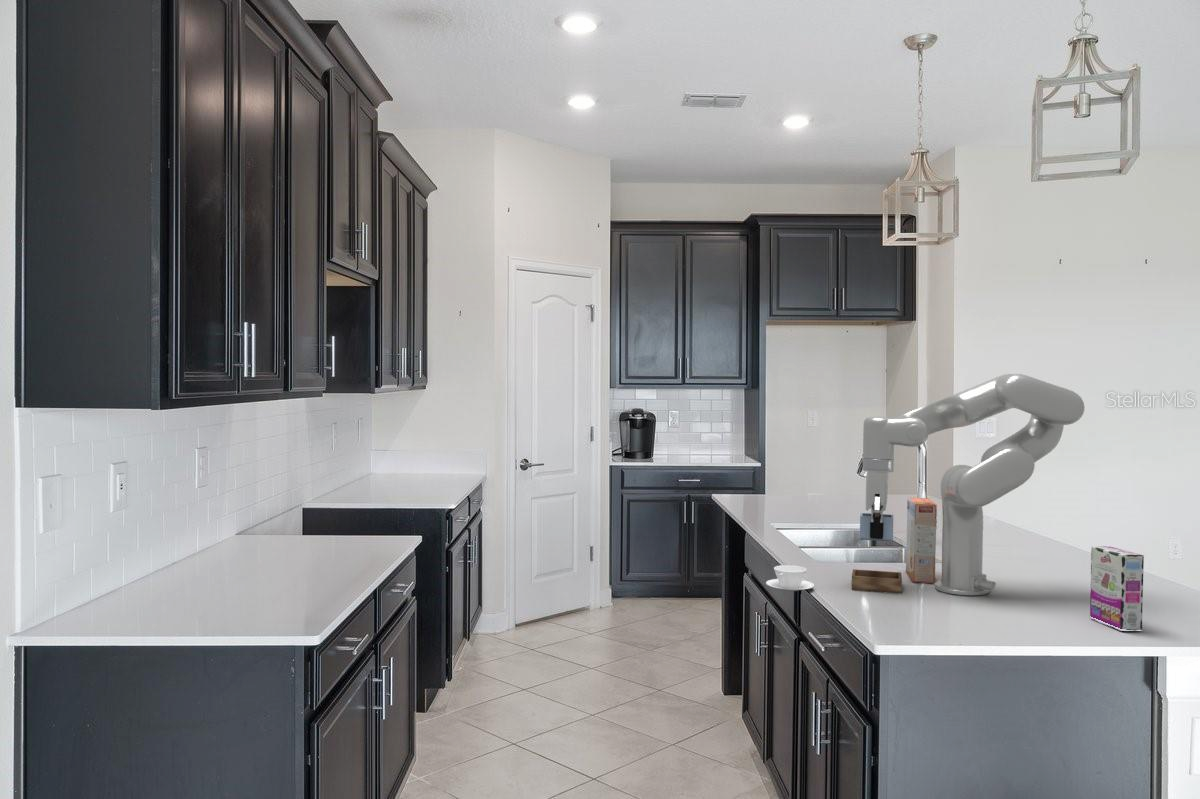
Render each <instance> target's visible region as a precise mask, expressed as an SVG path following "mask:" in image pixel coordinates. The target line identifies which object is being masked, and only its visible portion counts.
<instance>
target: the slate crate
mask: <svg viewBox="0 0 1200 799" xmlns="http://www.w3.org/2000/svg"><path fill="white" fill-rule="evenodd" d="M873 519H874V517H873ZM870 522H871V512H870V513H866V512H860V516H859V540H861V541H875V542H877V541H878V542H892V543H893V542H894V514H885V513H883V521H882V523H883V539H873V538H870Z"/></svg>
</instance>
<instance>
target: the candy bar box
mask: <svg viewBox="0 0 1200 799" xmlns="http://www.w3.org/2000/svg"><path fill="white" fill-rule="evenodd" d="M1144 558H1145V555H1143V554H1141V553H1136V552H1132V551H1129V550H1125V549H1121V548H1117V547H1113V546H1106V545H1105V546H1101V545H1099V546H1091V558H1090V598H1089V599H1090V604H1089V605H1090V606H1089V607H1090V608H1089V617H1090V616H1091V617H1093V618H1096V619H1098V620H1101V621H1103V622H1105V623H1108V624H1110V625H1113V626H1115V627H1118V628H1120V629H1126V630H1142V631H1143V604H1144V602H1143V601H1144V598H1143V596H1144V595H1143V593H1144V567H1145V565H1144V562H1145V560H1144Z"/></svg>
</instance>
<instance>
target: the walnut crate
mask: <svg viewBox="0 0 1200 799" xmlns="http://www.w3.org/2000/svg"><path fill="white" fill-rule="evenodd" d="M851 572H852V573H851V591H857V590H861V591H860V592H871V591H873V593H885V592H886V593H885V594H898V593H902V592H903V584H902V583H903V577H902V572H900V571H888V570H887V571H884V570H869V569H858V568H857V569H856V568H853V569H852V571H851Z"/></svg>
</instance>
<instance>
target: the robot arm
mask: <svg viewBox="0 0 1200 799" xmlns="http://www.w3.org/2000/svg"><path fill="white" fill-rule="evenodd" d="M1010 409H1016V410H1019V411H1023V412H1025V413H1027V414H1030V419H1029V420H1028V422H1027V424H1026V425H1025V426H1023V427H1022V428H1021V429H1020V430H1018V431H1017V432H1015V433H1013V434H1012V435H1010V436H1008V437H1006V438H1005V439H1003V440H1002V441H999V442H997V443H996V444H994V445H992V446H990V447H989V448H987V449H986V450H985V451H983V453H982V456H981V458H980V463H977V464H976V465H974V466H970V465H966V464H957V465H953V466H951V467H949V468H947V470H945V472H944V473H943V475H942V477H941V481H940V497H941V505H942V530H941V533H942V534H941V535H942V536H941V537H942V538H941V543H942V544H941V546H942V547H941V580H940V581H936V582H935V583H934V588H935V590H937V591H940V592H942V593H947V594H951V595H957V596H984V595H987V594H988V593H989V592H990V591H994V590H995V588H996V585H997V584H996V581H992V580H988V579H987V574H986V573H983V553H984V552H983V550H984V549H983V547H984V545H983V542H984V535H983V533H984V511H983V507H985V506H988V504H991V503H993V502H995V501H997V500H998V499H1000V498H1002V497H1004V496H1005V495H1007V494H1008V493H1010V492H1012V491H1014V490H1015V489H1018V488H1019V487H1021V486H1022V485H1024V484H1025V483H1026V482H1028V480H1029V479H1030V478H1031V477H1032V475H1033V473H1034V471H1035V466H1036V465H1035V463H1037V462H1038V461H1039V460H1041V459H1043V458H1044V457H1045V456H1047V455H1048V454H1050V453H1051V452H1053V450H1055V448H1056V447H1057V446H1058V444H1059V442H1060V441H1061V438H1062V435H1063V431H1064V426H1066V425H1067V426H1068V425H1072V424H1075V423H1077V422H1078V421H1079V420H1080V419H1081V418H1082V416H1084V414H1085V403H1084V400H1083V399H1082V397H1081V395H1079V394H1078V392H1077V393H1076V392H1075V391H1073V390H1072V389H1071V390H1070V389H1068V388H1065V387H1061V386H1058V385H1056V384H1053V383H1050V382H1047V381H1044V380H1041V379H1037V378H1035V377H1032V376H1029V375H1026V374H1023V373H1008V374H1007V373H1005V374H1003V375H999V376H996V377H994V378H990V379H989V380H986V381H984V382H981V383H980V384H979V383H978V385H977V384H976V385H975V386H974V385H973V386H972V387H970V388H967V389H965V390H963V391H959V392H958V393H955V394H952V395H949V396H946V397H944V398H942V399H940V400H937V401H934V402H931V403H929V404H926V405H923V406H920V407H918V408H916V409H913V410H911V411H909V412H908V411H907V413H903V414H901V415H899V416H897V417H896V418H891V417H886V416H868V417H866V418H865V419H864V420H863V434H862V435H863V439H862V440H863V441H862V471H863V472H866V478H865V510H866V511H869V510H870V509H871V510H870V514H871V522H870V538H873V539H883V523H882V521H883V514H884V512H886V508H887V503H888V493H889V473H893V472H894V467H895V466H894V461H895V460H894V459H895V457H894V456H895V446H903V447H908V448H916V447H919V446H921V445H923V444H924V443H925V442H926V441H927V440H928V438H929V435H933V434H934V433H938V432H940V431H944V430H947V429H948V430H949V429H955V428H956V429H957V428H963V427H968V426H970V425H971V426H972V425H974V424H976V423H979V422H981V421H984V420H986V419H988V418H990V417H993V416H996V415H998V414H1000V413H1003V412H1006V411H1009V410H1010ZM873 517H874V519H873Z"/></svg>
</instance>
